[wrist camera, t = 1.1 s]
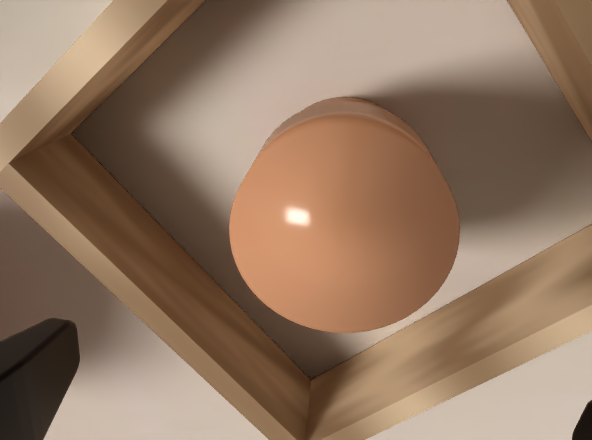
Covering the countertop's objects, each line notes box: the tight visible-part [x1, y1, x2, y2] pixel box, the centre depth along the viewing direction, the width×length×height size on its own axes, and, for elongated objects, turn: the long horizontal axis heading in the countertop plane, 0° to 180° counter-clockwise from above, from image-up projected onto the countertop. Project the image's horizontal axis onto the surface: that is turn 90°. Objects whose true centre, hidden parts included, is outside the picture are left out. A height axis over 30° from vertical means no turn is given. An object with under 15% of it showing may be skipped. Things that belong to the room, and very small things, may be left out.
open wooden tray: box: [0, 0, 592, 440], centre depth 17 cm, size 18×18×4 cm
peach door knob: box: [229, 97, 460, 333], centre depth 16 cm, size 6×6×6 cm
